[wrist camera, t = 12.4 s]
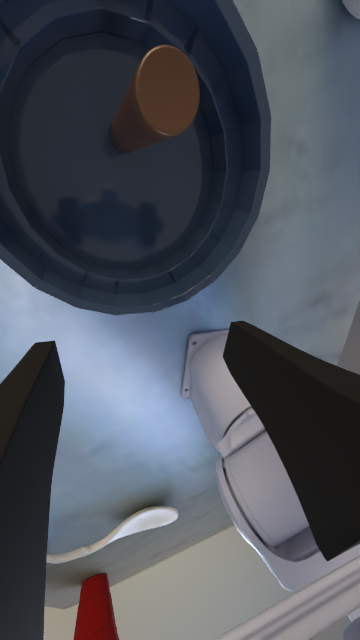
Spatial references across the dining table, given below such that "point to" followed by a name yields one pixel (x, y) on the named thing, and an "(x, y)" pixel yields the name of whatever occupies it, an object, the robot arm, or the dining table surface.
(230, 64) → the bowl
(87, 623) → the plastic cup
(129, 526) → the spoon
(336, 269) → the dining table surface
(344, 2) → the pill bottle
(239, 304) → the dining table surface
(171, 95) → the stirring stick
